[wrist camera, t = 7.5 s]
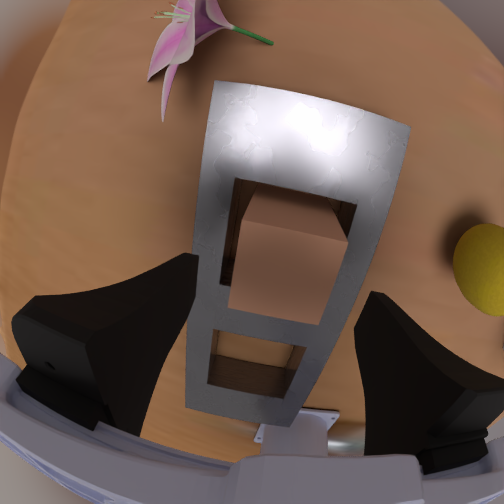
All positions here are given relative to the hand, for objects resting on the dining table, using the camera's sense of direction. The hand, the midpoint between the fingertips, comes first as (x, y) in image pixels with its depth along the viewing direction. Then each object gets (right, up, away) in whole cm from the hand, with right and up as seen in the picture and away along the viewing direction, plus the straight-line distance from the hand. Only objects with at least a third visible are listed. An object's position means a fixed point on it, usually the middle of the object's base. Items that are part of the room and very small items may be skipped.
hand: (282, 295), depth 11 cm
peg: (+1, +4, +7) cm, 8 cm away
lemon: (+15, +3, +6) cm, 16 cm away
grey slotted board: (0, -1, +9) cm, 9 cm away
